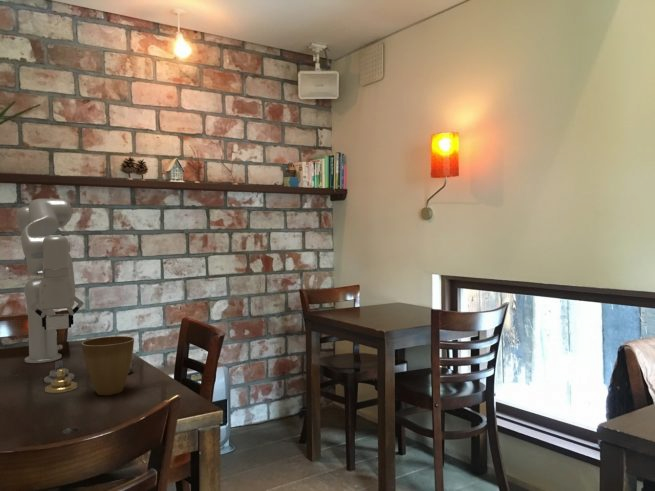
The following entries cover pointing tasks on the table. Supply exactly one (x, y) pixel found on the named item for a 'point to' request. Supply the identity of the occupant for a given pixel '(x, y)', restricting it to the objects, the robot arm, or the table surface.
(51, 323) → the square sleeve
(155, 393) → the table surface
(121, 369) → the plant pot
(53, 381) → the hub
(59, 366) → the stand
